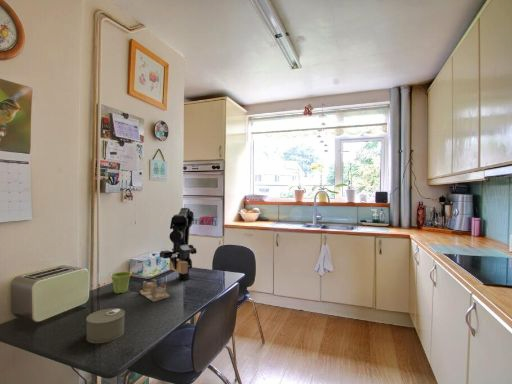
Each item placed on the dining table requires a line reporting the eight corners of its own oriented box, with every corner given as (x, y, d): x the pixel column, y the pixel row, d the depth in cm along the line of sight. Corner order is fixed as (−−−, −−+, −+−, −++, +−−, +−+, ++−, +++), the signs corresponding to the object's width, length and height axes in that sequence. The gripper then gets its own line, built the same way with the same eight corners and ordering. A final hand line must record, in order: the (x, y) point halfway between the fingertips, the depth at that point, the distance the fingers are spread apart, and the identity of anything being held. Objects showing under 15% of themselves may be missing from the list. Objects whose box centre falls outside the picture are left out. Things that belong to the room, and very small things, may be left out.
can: (77, 339, 92) (77, 319, 92) (107, 323, 103) (108, 305, 103) (103, 347, 88) (104, 325, 88) (132, 329, 99) (132, 311, 99)
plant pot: (105, 293, 134) (106, 275, 134) (121, 287, 143) (122, 270, 143) (119, 296, 131) (120, 278, 131) (135, 289, 140) (135, 273, 140)
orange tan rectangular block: (169, 268, 146) (169, 258, 146) (174, 267, 148) (174, 257, 148) (182, 274, 137) (182, 263, 137) (187, 272, 139) (187, 262, 139)
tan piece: (139, 292, 135) (139, 281, 135) (155, 289, 141) (155, 278, 141) (153, 301, 125) (153, 289, 125) (169, 297, 131) (169, 285, 131)
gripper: (170, 243, 130) (169, 275, 130) (202, 239, 144) (202, 268, 143) (159, 240, 138) (158, 270, 138) (191, 236, 151) (190, 264, 151)
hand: (178, 268), depth 142 cm, fingers closed on orange tan rectangular block, 3 cm apart
